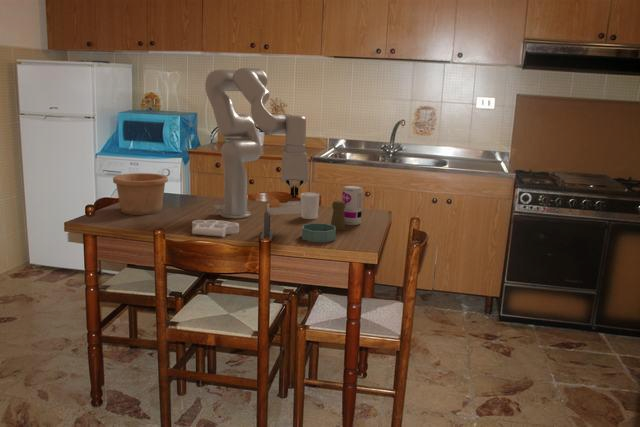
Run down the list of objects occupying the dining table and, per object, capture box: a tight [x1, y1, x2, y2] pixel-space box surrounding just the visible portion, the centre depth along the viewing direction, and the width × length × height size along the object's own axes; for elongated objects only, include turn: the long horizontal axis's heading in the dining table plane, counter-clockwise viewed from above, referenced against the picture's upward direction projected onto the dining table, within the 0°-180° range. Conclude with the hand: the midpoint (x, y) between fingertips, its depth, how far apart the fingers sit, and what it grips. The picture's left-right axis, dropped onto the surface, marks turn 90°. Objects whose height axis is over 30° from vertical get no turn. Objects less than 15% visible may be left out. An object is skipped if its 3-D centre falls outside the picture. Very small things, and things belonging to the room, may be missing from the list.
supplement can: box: [341, 185, 364, 226], centre depth 239 cm, size 8×8×15 cm
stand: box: [259, 206, 274, 242], centre depth 215 cm, size 4×14×10 cm, turn 2°
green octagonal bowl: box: [301, 222, 337, 243], centre depth 216 cm, size 12×12×4 cm
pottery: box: [112, 172, 169, 216], centre depth 247 cm, size 22×22×14 cm
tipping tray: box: [266, 200, 301, 216], centre depth 218 cm, size 12×18×2 cm, turn 2°
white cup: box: [300, 192, 320, 220], centre depth 246 cm, size 8×8×10 cm
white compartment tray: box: [191, 219, 240, 238], centre depth 219 cm, size 3×18×15 cm
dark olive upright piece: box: [330, 200, 346, 231], centre depth 230 cm, size 6×6×11 cm
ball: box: [268, 198, 281, 208], centre depth 213 cm, size 4×4×4 cm
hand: (294, 197), depth 223 cm, fingers closed
